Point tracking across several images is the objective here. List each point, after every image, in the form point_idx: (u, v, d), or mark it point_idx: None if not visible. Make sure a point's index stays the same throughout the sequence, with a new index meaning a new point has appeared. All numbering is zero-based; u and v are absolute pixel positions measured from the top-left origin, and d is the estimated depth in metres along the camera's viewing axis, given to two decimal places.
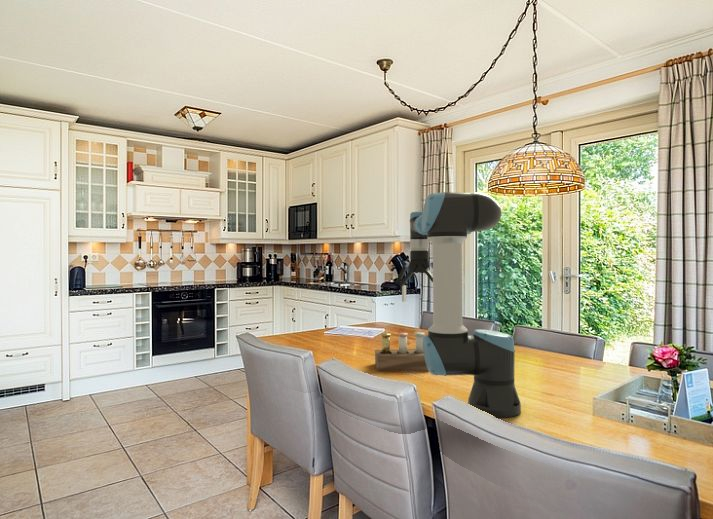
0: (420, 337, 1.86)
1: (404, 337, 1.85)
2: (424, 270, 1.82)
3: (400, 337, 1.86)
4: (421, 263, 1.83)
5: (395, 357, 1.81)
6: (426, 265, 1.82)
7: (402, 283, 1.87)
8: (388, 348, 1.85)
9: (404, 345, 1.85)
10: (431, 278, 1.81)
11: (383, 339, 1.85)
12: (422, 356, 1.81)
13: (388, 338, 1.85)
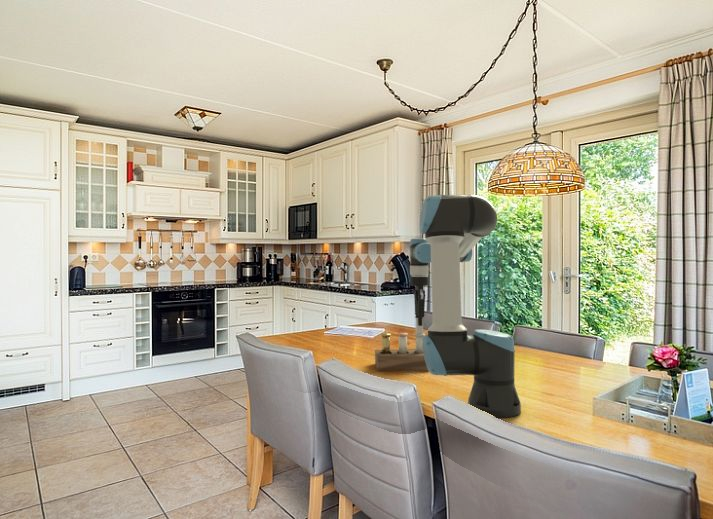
0: (420, 338, 1.86)
1: (404, 337, 1.85)
2: (415, 297, 1.86)
3: (400, 337, 1.86)
4: (417, 290, 1.85)
5: (395, 357, 1.81)
6: (418, 292, 1.84)
7: (416, 313, 1.88)
8: (388, 348, 1.85)
9: (404, 345, 1.85)
10: (417, 307, 1.86)
11: (383, 339, 1.85)
12: (422, 356, 1.81)
13: (388, 338, 1.85)
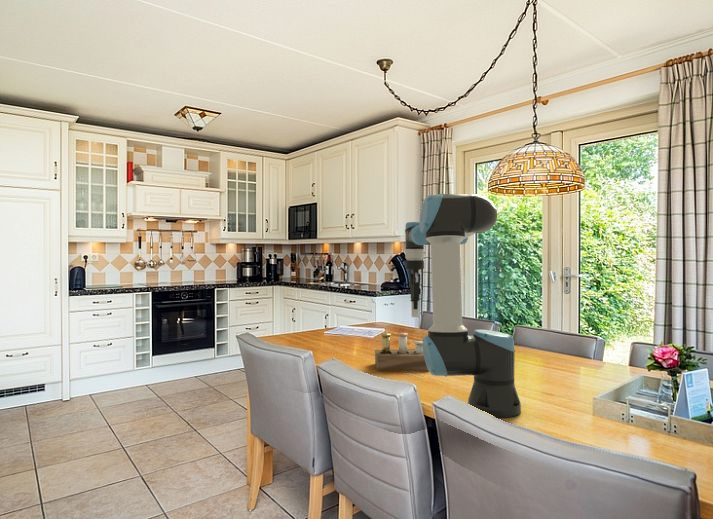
0: (420, 346, 1.86)
1: (404, 337, 1.85)
2: (411, 281, 1.86)
3: (400, 337, 1.86)
4: (412, 273, 1.85)
5: (395, 357, 1.81)
6: (413, 275, 1.84)
7: (411, 297, 1.88)
8: (388, 348, 1.85)
9: (404, 345, 1.85)
10: (412, 291, 1.86)
11: (383, 339, 1.85)
12: (422, 356, 1.81)
13: (388, 338, 1.85)
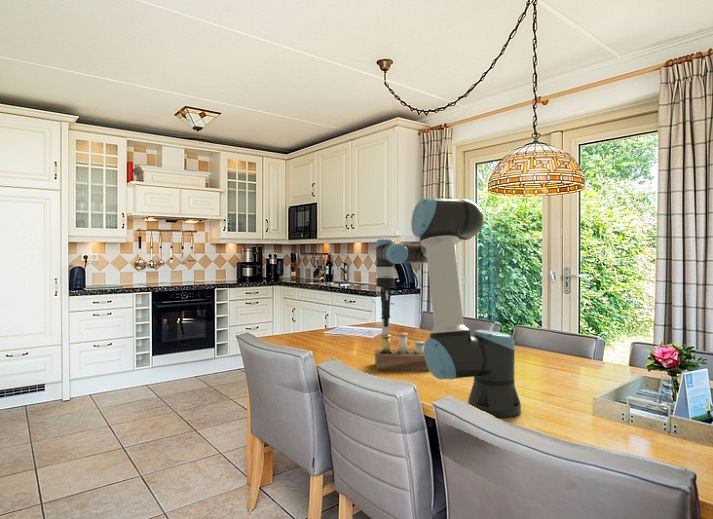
0: (420, 346, 1.86)
1: (404, 337, 1.85)
2: (381, 298, 1.85)
3: (400, 337, 1.86)
4: (383, 291, 1.85)
5: (395, 357, 1.81)
6: (383, 293, 1.83)
7: (382, 315, 1.88)
8: (388, 349, 1.85)
9: (404, 345, 1.85)
10: (383, 308, 1.85)
11: (383, 340, 1.85)
12: (422, 356, 1.81)
13: (388, 339, 1.85)
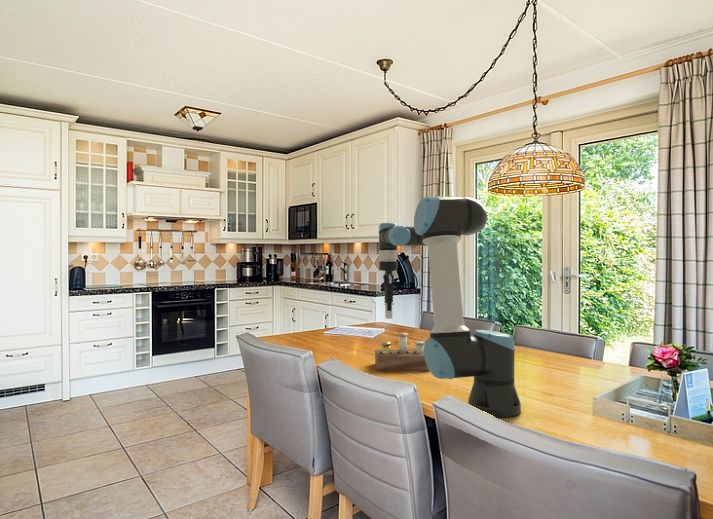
0: (420, 346, 1.86)
1: (404, 337, 1.85)
2: (384, 282, 1.85)
3: (400, 337, 1.86)
4: (386, 274, 1.84)
5: (395, 357, 1.81)
6: (386, 276, 1.83)
7: (385, 299, 1.87)
8: None
9: (404, 345, 1.85)
10: (386, 292, 1.85)
11: (383, 348, 1.86)
12: (422, 356, 1.81)
13: (388, 347, 1.85)
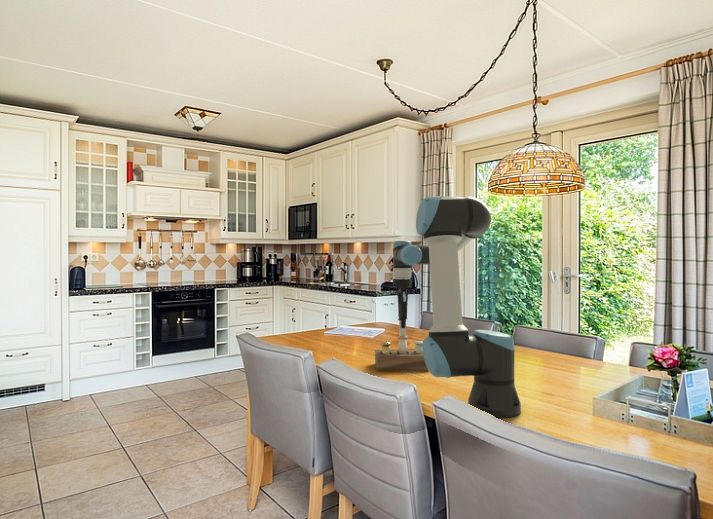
0: (420, 346, 1.86)
1: (404, 340, 1.85)
2: (398, 300, 1.85)
3: (400, 340, 1.86)
4: (400, 292, 1.85)
5: (395, 357, 1.81)
6: (400, 294, 1.84)
7: (399, 316, 1.88)
8: None
9: (404, 348, 1.85)
10: (400, 310, 1.86)
11: (383, 348, 1.86)
12: (422, 356, 1.81)
13: (388, 347, 1.85)
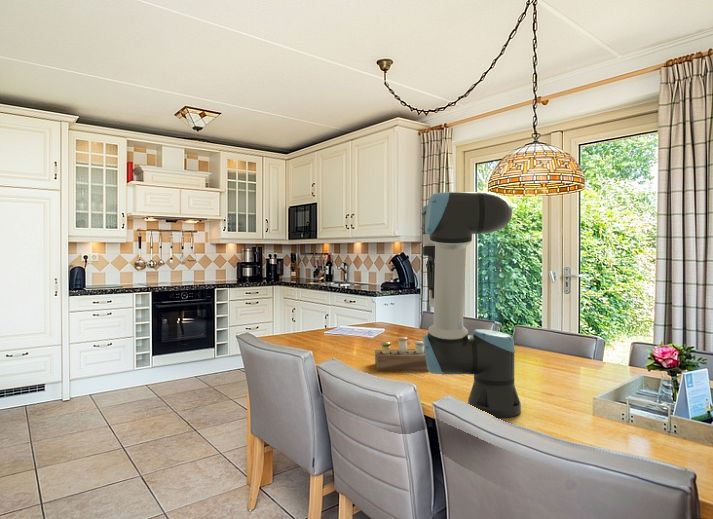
0: (420, 346, 1.86)
1: (404, 341, 1.85)
2: (429, 268, 1.74)
3: (400, 341, 1.86)
4: (431, 260, 1.73)
5: (395, 357, 1.81)
6: (432, 261, 1.72)
7: (429, 286, 1.76)
8: None
9: (404, 349, 1.85)
10: (430, 279, 1.74)
11: (383, 348, 1.86)
12: (422, 356, 1.81)
13: (388, 347, 1.85)
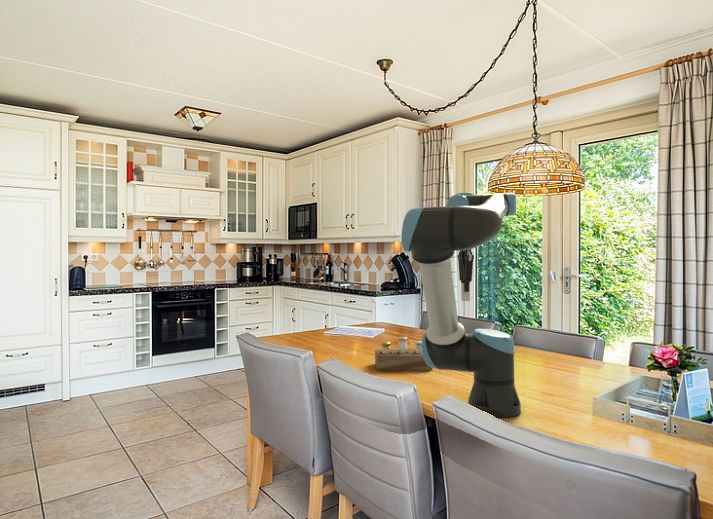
0: (420, 346, 1.86)
1: (404, 341, 1.85)
2: (461, 260, 1.64)
3: (400, 341, 1.86)
4: (463, 251, 1.63)
5: (395, 357, 1.81)
6: (464, 253, 1.62)
7: (461, 279, 1.66)
8: None
9: (404, 349, 1.85)
10: (463, 271, 1.64)
11: (383, 348, 1.86)
12: (422, 356, 1.81)
13: (388, 347, 1.85)
